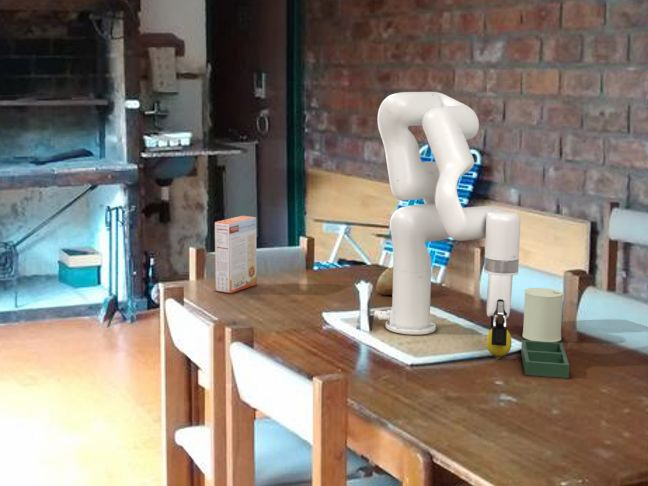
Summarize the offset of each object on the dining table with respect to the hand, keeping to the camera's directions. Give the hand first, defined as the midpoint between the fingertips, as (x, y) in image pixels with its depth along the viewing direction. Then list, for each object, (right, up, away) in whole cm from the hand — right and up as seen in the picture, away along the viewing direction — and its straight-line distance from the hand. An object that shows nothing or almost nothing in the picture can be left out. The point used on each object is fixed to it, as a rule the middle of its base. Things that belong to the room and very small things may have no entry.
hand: (498, 339), depth 232 cm
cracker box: (-60, +3, +69) cm, 91 cm away
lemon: (0, -5, 0) cm, 5 cm away
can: (+16, -3, +18) cm, 24 cm away
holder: (+9, -5, -4) cm, 11 cm away
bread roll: (-12, +3, +63) cm, 65 cm away
